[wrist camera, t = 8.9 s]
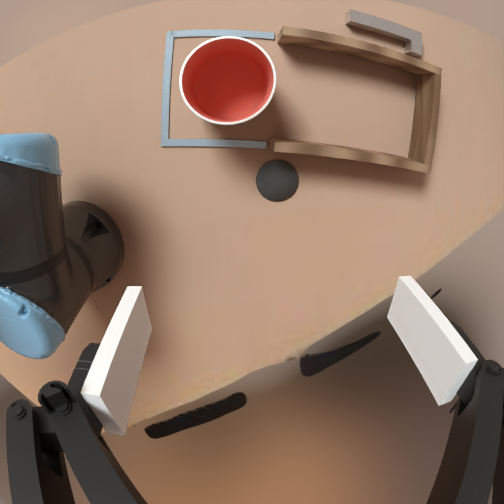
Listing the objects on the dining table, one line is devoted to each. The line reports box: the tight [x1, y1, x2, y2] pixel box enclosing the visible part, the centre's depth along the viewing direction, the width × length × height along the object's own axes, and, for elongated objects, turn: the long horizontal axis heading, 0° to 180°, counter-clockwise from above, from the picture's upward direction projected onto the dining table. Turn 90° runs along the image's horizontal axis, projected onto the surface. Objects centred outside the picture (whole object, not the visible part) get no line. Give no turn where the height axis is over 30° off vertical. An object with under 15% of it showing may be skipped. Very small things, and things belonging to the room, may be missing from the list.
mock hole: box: [256, 160, 298, 201], centre depth 42 cm, size 6×6×1 cm
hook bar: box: [345, 9, 422, 57], centre depth 31 cm, size 12×4×2 cm, turn 86°
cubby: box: [270, 26, 442, 174], centre depth 34 cm, size 23×16×5 cm
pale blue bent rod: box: [161, 30, 274, 149], centre depth 35 cm, size 14×17×1 cm
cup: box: [179, 36, 277, 125], centre depth 31 cm, size 10×10×10 cm
